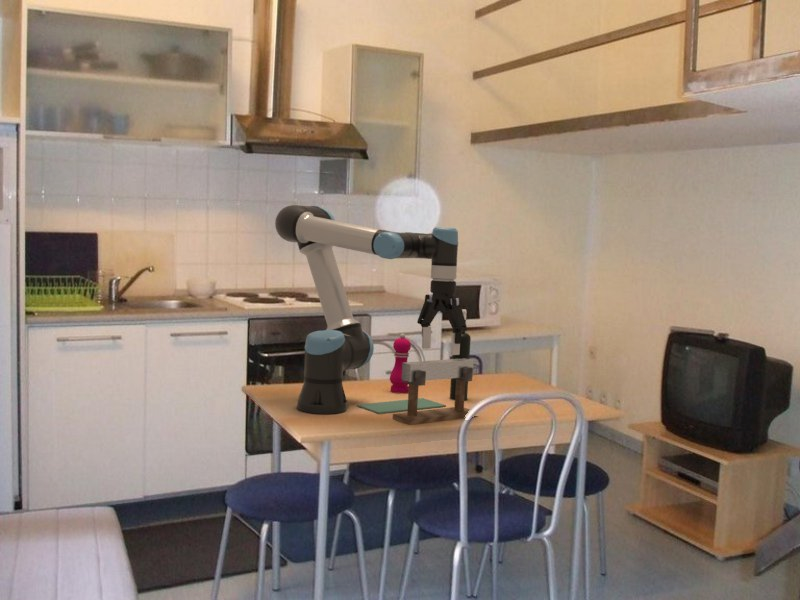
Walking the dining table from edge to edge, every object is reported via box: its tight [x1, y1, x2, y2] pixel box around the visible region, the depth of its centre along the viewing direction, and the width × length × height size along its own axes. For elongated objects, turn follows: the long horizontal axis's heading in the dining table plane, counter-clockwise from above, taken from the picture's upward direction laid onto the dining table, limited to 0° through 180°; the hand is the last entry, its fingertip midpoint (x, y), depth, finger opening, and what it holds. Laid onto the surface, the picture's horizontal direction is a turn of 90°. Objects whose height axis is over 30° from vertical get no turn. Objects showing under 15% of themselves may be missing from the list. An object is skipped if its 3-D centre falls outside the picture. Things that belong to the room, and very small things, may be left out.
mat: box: [356, 397, 447, 415], centre depth 276 cm, size 26×12×1 cm, turn 127°
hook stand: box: [392, 367, 474, 426], centre depth 261 cm, size 26×8×15 cm, turn 127°
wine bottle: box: [449, 308, 472, 401], centre depth 291 cm, size 6×6×30 cm
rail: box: [402, 358, 475, 382], centre depth 261 cm, size 24×4×5 cm, turn 127°
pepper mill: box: [389, 333, 412, 394], centre depth 299 cm, size 7×7×20 cm
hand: (440, 351), depth 260 cm, fingers open, 13 cm apart
